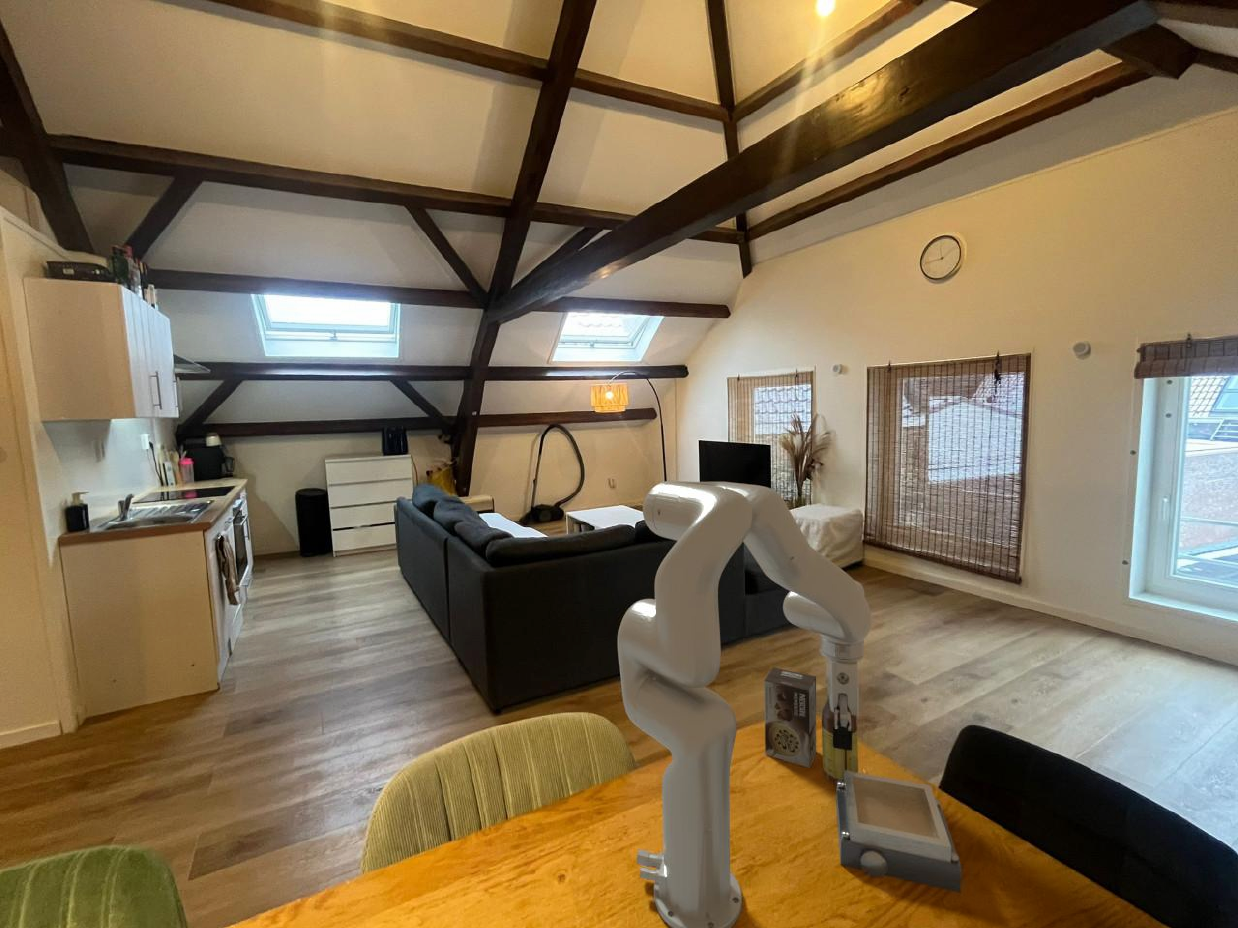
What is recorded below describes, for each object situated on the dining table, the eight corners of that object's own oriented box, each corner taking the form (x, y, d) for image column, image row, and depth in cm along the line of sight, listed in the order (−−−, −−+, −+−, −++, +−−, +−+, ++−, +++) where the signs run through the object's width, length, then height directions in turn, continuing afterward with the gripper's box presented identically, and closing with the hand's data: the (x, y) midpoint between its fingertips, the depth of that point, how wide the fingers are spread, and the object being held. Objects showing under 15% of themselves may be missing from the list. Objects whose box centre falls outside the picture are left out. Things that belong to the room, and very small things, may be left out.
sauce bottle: (851, 767, 105) (853, 669, 103) (863, 789, 99) (865, 686, 97) (817, 765, 106) (818, 669, 104) (826, 788, 99) (827, 685, 97)
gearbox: (841, 870, 82) (841, 830, 81) (835, 801, 96) (836, 767, 95) (962, 898, 77) (964, 856, 76) (937, 821, 91) (939, 785, 90)
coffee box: (817, 751, 110) (817, 676, 109) (809, 769, 105) (810, 690, 103) (772, 737, 115) (772, 665, 113) (763, 754, 110) (763, 679, 108)
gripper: (868, 670, 90) (867, 765, 92) (859, 629, 107) (858, 710, 108) (821, 664, 93) (820, 757, 95) (818, 625, 109) (818, 705, 111)
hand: (840, 732), depth 101 cm, fingers open, 9 cm apart
